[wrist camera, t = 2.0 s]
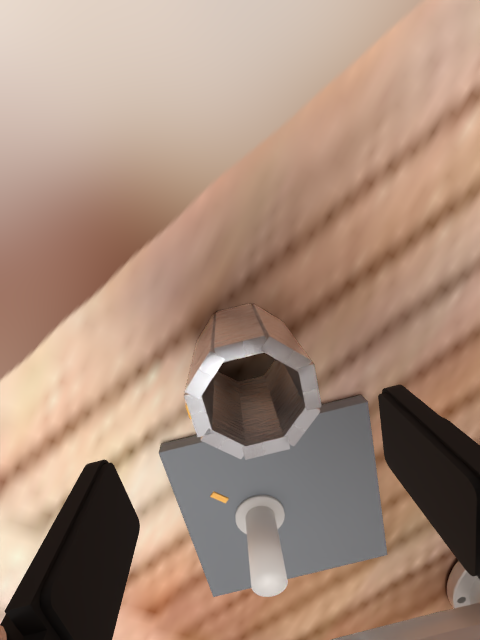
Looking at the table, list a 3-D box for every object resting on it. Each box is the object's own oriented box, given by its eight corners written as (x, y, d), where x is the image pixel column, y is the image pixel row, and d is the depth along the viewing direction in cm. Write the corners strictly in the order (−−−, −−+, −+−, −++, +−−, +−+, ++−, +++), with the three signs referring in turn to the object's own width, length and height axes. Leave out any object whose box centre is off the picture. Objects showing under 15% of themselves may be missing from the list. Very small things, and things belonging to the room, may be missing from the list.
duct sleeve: (278, 296, 20) (307, 325, 13) (294, 377, 22) (327, 439, 15) (185, 319, 20) (166, 359, 13) (209, 398, 22) (204, 469, 15)
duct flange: (361, 394, 23) (409, 448, 17) (381, 543, 27) (424, 626, 21) (161, 443, 23) (140, 513, 17) (213, 584, 27) (211, 678, 21)
